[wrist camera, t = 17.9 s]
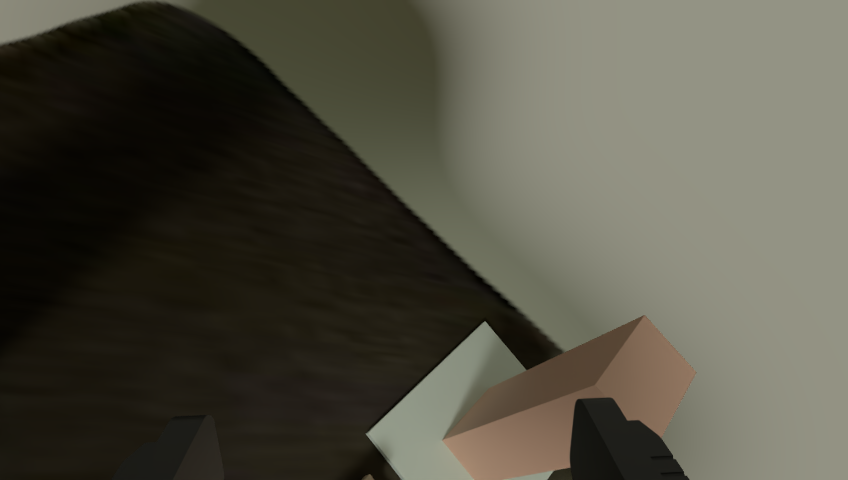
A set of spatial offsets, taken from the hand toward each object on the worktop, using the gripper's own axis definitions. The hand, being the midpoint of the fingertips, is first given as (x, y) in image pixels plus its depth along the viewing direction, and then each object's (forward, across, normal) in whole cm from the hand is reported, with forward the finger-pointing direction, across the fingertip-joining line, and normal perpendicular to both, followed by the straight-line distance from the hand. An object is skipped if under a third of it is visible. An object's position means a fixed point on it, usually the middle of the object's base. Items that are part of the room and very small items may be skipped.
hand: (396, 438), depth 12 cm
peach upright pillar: (+22, -6, +20) cm, 31 cm away
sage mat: (+23, -6, +20) cm, 31 cm away
